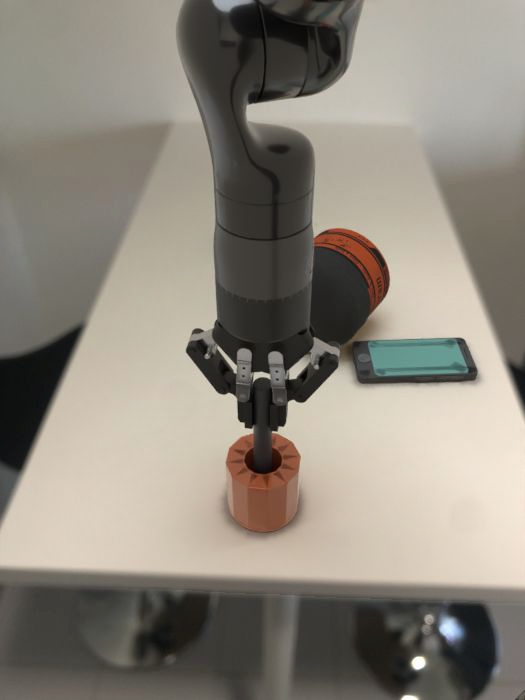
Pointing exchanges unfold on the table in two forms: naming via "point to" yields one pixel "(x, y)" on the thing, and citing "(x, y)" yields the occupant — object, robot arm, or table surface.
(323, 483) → the table surface
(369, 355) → the smartphone
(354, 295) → the oil filter
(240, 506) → the pen pot
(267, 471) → the stylus
